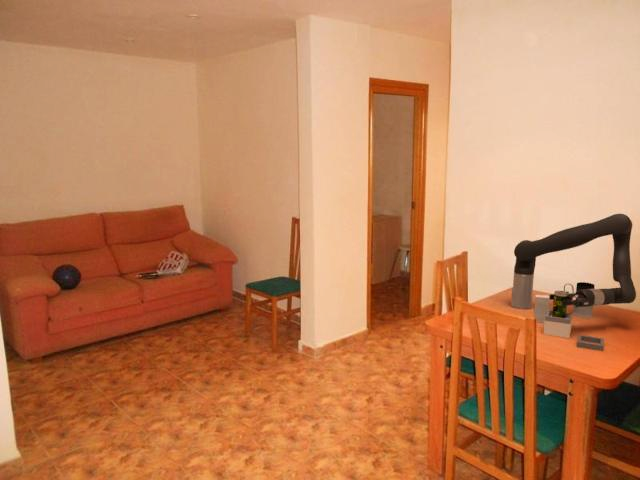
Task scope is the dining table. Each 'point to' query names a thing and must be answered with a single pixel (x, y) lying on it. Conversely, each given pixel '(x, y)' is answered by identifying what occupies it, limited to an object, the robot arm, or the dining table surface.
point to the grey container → (583, 311)
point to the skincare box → (541, 307)
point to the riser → (558, 325)
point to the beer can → (559, 304)
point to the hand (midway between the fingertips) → (556, 300)
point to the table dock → (590, 345)
